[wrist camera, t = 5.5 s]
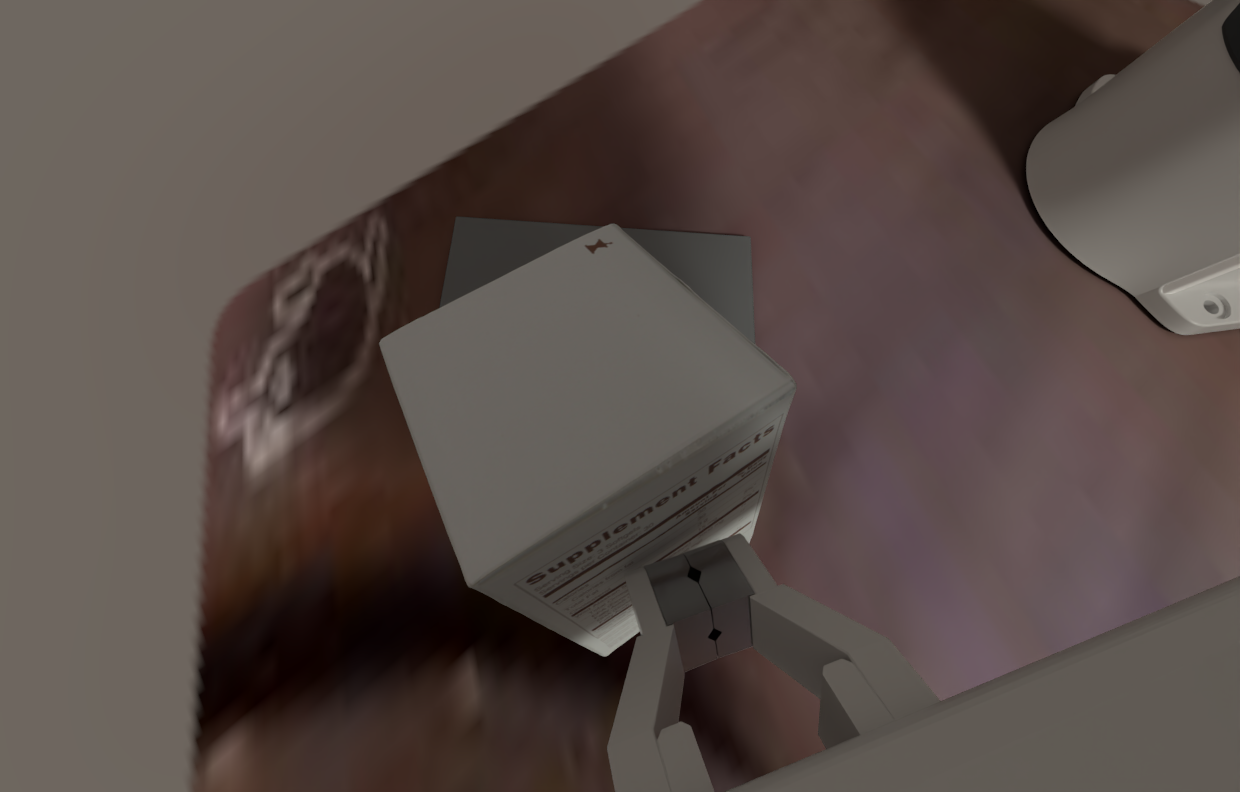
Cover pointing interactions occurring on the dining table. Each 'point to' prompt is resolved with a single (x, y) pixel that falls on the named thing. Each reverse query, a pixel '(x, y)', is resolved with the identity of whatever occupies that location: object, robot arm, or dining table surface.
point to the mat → (506, 245)
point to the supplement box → (586, 429)
